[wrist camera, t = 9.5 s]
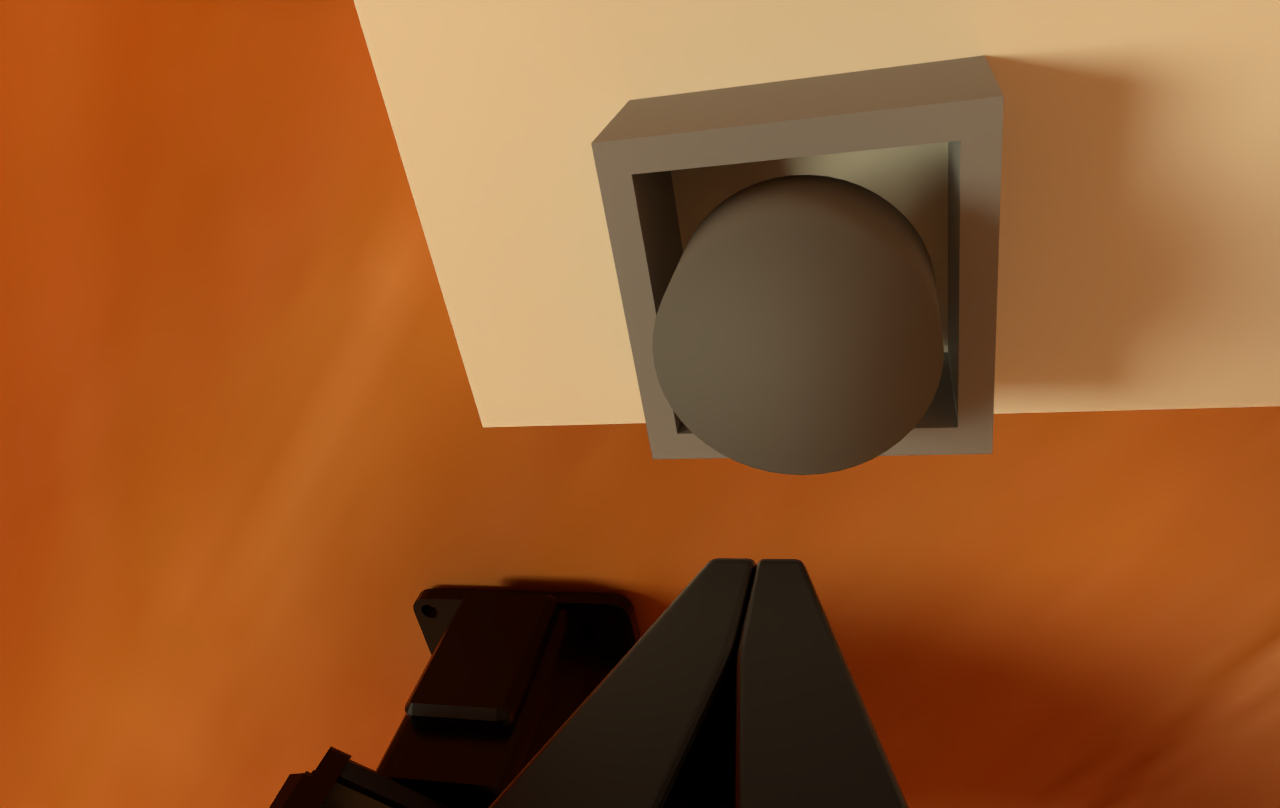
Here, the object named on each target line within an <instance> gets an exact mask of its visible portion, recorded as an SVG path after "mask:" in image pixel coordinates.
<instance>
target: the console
mask: <svg viewBox="0 0 1280 808" xmlns="http://www.w3.org/2000/svg"><path fill="white" fill-rule="evenodd" d="M354 3H355V7H356V10H357V13H358V17H359V20H360V23H361V26H362V30H363V33H364V36H365V40H366V43H367V46H368V50H369V53H370V56H371V59H372V63H373V66H374V69H375V73H376V76H377V79H378V83H379V86H380V89H381V92H382V96H383V99H384V102H385V106H386V109H387V112H388V116H389V119H390V122H391V125H392V129H393V132H394V135H395V139H396V142H397V145H398V148H399V152H400V155H401V158H402V162H403V165H404V168H405V172H406V175H407V178H408V181H409V185H410V188H411V191H412V195H413V198H414V201H415V205H416V208H417V211H418V214H419V218H420V221H421V224H422V228H423V231H424V234H425V238H426V241H427V244H428V247H429V251H430V254H431V257H432V261H433V264H434V267H435V271H436V274H437V277H438V280H439V284H440V287H441V290H442V294H443V297H444V300H445V303H446V307H447V310H448V313H449V317H450V320H451V323H452V327H453V330H454V333H455V336H456V340H457V343H458V346H459V350H460V353H461V356H462V360H463V363H464V366H465V369H466V373H467V376H468V379H469V383H470V386H471V389H472V393H473V396H474V399H475V402H476V406H477V409H478V412H479V416H480V419H481V422H482V426H483V427H513V426H551V425H589V424H626V423H646V426H647V432H648V437H649V442H650V447H651V452H652V457H653V459H692V458H728V457H726V456H724V455H722V454H720V453H719V452H717V451H716V450H714V449H713V448H711V447H710V446H708V445H706V444H705V443H704V442H703V441H702V440H700V439H699V438H698V437H697V436H695V435H694V434H693V433H692V432H691V431H690V430H689V429H688V428H687V427H686V426H685V425H684V424H683V423H682V421H681V420H680V419H679V417H678V416H677V415H676V413H675V412H674V411H673V409H672V408H671V406H670V404H669V403H668V401H667V399H666V397H665V396H664V393H663V391H662V388H661V386H660V384H659V381H658V378H657V374H656V370H655V366H654V359H653V349H652V347H653V330H654V325H655V319H656V315H657V312H658V310H659V307H660V304H661V301H662V299H663V296H664V294H665V292H666V290H667V288H668V285H669V283H670V281H671V279H672V276H673V274H674V272H675V270H676V267H677V265H678V263H679V261H680V258H681V256H682V254H683V252H684V249H685V247H686V246H687V244H688V242H689V240H690V238H691V236H692V234H693V233H694V231H695V230H696V229H697V227H698V226H699V224H700V223H701V222H702V220H703V219H704V218H705V217H706V216H707V215H708V214H709V213H710V212H711V211H712V210H713V209H714V208H715V207H717V206H718V205H719V204H720V203H722V202H723V201H724V200H725V199H727V198H728V197H730V196H732V195H733V194H735V193H737V192H738V191H740V190H742V189H744V188H747V187H749V186H751V185H753V184H756V183H759V182H762V181H766V180H769V179H772V178H778V177H784V176H790V175H818V176H828V177H833V178H837V179H842V180H846V181H849V182H851V183H854V184H857V185H860V186H862V187H864V188H866V189H868V190H870V191H872V192H874V193H876V194H878V195H879V196H881V197H882V198H884V199H885V200H887V201H888V202H889V203H891V204H892V205H893V206H895V207H896V208H897V209H898V210H899V211H900V212H901V213H902V214H903V215H904V216H905V217H906V218H907V219H908V220H909V222H910V223H911V224H912V225H913V227H914V228H915V229H916V230H917V232H918V234H919V236H920V237H921V239H922V241H923V242H924V244H925V246H926V249H927V251H928V254H929V256H930V259H931V262H932V266H933V270H934V275H935V281H936V289H937V296H938V304H939V312H940V319H941V327H942V335H943V347H944V357H943V369H942V373H941V378H940V382H939V386H938V388H937V391H936V393H935V396H934V398H933V401H932V402H931V404H930V406H929V408H928V409H927V411H926V413H925V414H924V416H923V417H922V418H921V420H920V421H919V422H918V423H917V425H916V426H915V427H914V428H913V430H911V431H910V432H909V433H908V434H907V435H906V436H905V437H904V438H903V439H902V440H901V441H900V442H898V443H897V444H896V445H894V446H893V447H892V448H890V449H889V450H887V451H886V452H884V453H882V454H880V455H879V456H886V455H950V454H992V445H993V414H1003V413H1040V412H1078V411H1115V410H1153V409H1191V408H1228V407H1266V406H1280V0H354Z"/></svg>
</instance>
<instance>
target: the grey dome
mask: <svg viewBox="0 0 1280 808" xmlns="http://www.w3.org/2000/svg"><path fill="white" fill-rule="evenodd" d="M652 349H653V359H654V366H655V370H656V374H657V378H658V381H659V384H660V386H661V388H662V391H663V393H664V396H665V397H666V399H667V401H668V403H669V404H670V406H671V408H672V409H673V411H674V412H675V413H676V415H677V416H678V417H679V419H680V420H681V421H682V423H683V424H684V425H685V426H686V427H687V428H688V429H689V430H690V431H691V432H692V433H693V434H694V435H695V436H697V437H698V438H699V439H700V440H702V441H703V442H704V443H705V444H706V445H708V446H710V447H711V448H713V449H714V450H716V451H717V452H719V453H720V454H722V455H724V456H726V457H728V458H730V459H732V460H734V461H737V462H739V463H742V464H745V465H747V466H750V467H753V468H757V469H761V470H765V471H769V472H775V473H782V474H794V475H811V474H823V473H829V472H835V471H840V470H844V469H847V468H851V467H854V466H857V465H859V464H862V463H864V462H867V461H869V460H871V459H873V458H875V457H877V456H879V455H880V454H882V453H884V452H886V451H887V450H889V449H890V448H892V447H893V446H894V445H896V444H897V443H898V442H900V441H901V440H902V439H903V438H904V437H905V436H906V435H907V434H908V433H909V432H910V431H911V430H913V428H914V427H915V426H916V425H917V423H918V422H919V421H920V420H921V418H922V417H923V416H924V414H925V413H926V411H927V409H928V408H929V406H930V404H931V402H932V401H933V398H934V396H935V393H936V391H937V388H938V386H939V382H940V378H941V373H942V369H943V357H944V347H943V335H942V327H941V319H940V312H939V304H938V296H937V289H936V281H935V275H934V270H933V266H932V262H931V259H930V256H929V254H928V251H927V249H926V246H925V244H924V242H923V241H922V239H921V237H920V236H919V234H918V232H917V230H916V229H915V228H914V227H913V225H912V224H911V223H910V222H909V220H908V219H907V218H906V217H905V216H904V215H903V214H902V213H901V212H900V211H899V210H898V209H897V208H896V207H895V206H893V205H892V204H891V203H889V202H888V201H887V200H885V199H884V198H882V197H881V196H879V195H878V194H876V193H874V192H872V191H870V190H868V189H866V188H864V187H862V186H860V185H857V184H854V183H851V182H849V181H846V180H842V179H837V178H833V177H828V176H818V175H790V176H784V177H778V178H772V179H769V180H766V181H762V182H759V183H756V184H753V185H751V186H749V187H747V188H744V189H742V190H740V191H738V192H737V193H735V194H733V195H732V196H730V197H728V198H727V199H725V200H724V201H723V202H722V203H720V204H719V205H718V206H717V207H715V208H714V209H713V210H712V211H711V212H710V213H709V214H708V215H707V216H706V217H705V218H704V219H703V220H702V222H701V223H700V224H699V226H698V227H697V229H696V230H695V231H694V233H693V234H692V236H691V238H690V240H689V242H688V244H687V246H686V247H685V249H684V252H683V254H682V256H681V258H680V261H679V263H678V265H677V267H676V270H675V272H674V274H673V276H672V279H671V281H670V283H669V285H668V288H667V290H666V292H665V294H664V296H663V299H662V301H661V304H660V307H659V310H658V312H657V315H656V319H655V325H654V330H653V347H652Z"/></svg>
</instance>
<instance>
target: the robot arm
mask: <svg viewBox="0 0 1280 808" xmlns="http://www.w3.org/2000/svg"><path fill="white" fill-rule="evenodd" d="M432 606H433V607H432ZM413 607H414V612H415V615H416V617H417V620H418V622H419V625H420V627H421V630H422V632H423V635H424V637H425V640H426V642H427V645H428V647H429V650H430V652H431V655H432V656H431V658H430V660H429V662H428V664H427V666H426V668H425V669H424V671H423V673H422V675H421V677H420V679H419V681H418V683H417V684H416V686H415V688H414V690H413V692H412V694H411V696H410V698H409V699H408V701H407V703H406V706H405V712H406V714H405V716H404V718H403V720H402V722H401V724H400V726H399V728H398V730H397V732H396V733H395V735H394V737H393V739H392V741H391V743H390V745H389V747H388V749H387V751H386V752H385V754H384V756H383V758H382V760H381V762H380V764H379V766H378V768H377V769H376V771H374V770H372V769H369V768H367V767H365V766H363V765H361V764H358V763H356V762H354V761H352V760H350V759H351V755H349V754H346V753H344V752H342V751H340V750H338V749H336V748H333V747H330V749H329V750H328V752H327V753H326V755H325V756H324V758H323V759H322V761H321V762H320V764H319V765H318V767H317V768H316V770H313V772H312V773H310V772H307V771H306V772H305V773H300V774H290V775H289V777H288V778H287V780H286V782H285V783H284V785H283V786H282V788H281V790H280V791H279V793H278V795H277V796H276V798H275V799H274V801H273V803H272V804H271V806H270V808H909V807H908V805H907V802H906V800H905V798H904V795H903V793H902V791H901V788H900V786H899V784H898V781H897V779H896V777H895V774H894V772H893V770H892V767H891V765H890V763H889V760H888V758H887V756H886V753H885V751H884V749H883V746H882V744H881V742H880V739H879V737H878V735H877V732H876V730H875V728H874V725H873V723H872V721H871V718H870V716H869V714H868V711H867V709H866V707H865V704H864V702H863V700H862V697H861V695H860V693H859V690H858V688H857V686H856V683H855V681H854V679H853V676H852V674H851V672H850V669H849V667H848V665H847V662H846V660H845V658H844V656H843V653H842V651H841V649H840V646H839V644H838V642H837V639H836V637H835V635H834V632H833V630H832V628H831V625H830V623H829V621H828V618H827V616H826V614H825V611H824V609H823V607H822V604H821V602H820V600H819V597H818V595H817V593H816V590H815V588H814V586H813V583H812V581H811V579H810V576H809V574H808V572H807V569H806V567H805V565H804V564H803V563H802V562H801V561H800V560H797V559H762V560H761V561H759V562H758V564H757V565H756V563H755V562H754V561H753V560H751V559H733V558H717V559H713V560H711V561H710V562H708V563H707V564H706V565H705V567H704V568H703V569H702V570H701V571H700V572H699V573H698V574H697V575H696V577H695V578H694V579H693V580H692V581H691V582H690V583H689V584H688V586H687V587H686V588H685V589H684V590H683V591H682V592H681V593H680V594H679V596H678V597H677V598H676V599H675V600H674V601H673V602H672V603H671V604H670V606H669V607H668V608H667V609H666V610H665V611H664V612H663V613H662V615H661V616H660V617H659V618H658V619H657V620H656V621H655V622H654V623H653V625H652V626H651V627H650V628H649V629H648V630H647V631H646V632H645V634H644V635H643V636H642V637H641V638H640V634H639V629H638V625H637V621H636V616H635V612H634V608H633V606H632V604H631V602H630V601H629V600H628V599H627V598H625V597H623V596H621V595H618V594H610V593H572V592H534V591H495V590H457V589H426V590H423V591H422V592H421V593H420V594H419V596H418V598H417V600H416V601H415V603H414V606H413ZM611 611H615V612H617V613H618V614H615V613H612V612H611Z"/></svg>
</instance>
